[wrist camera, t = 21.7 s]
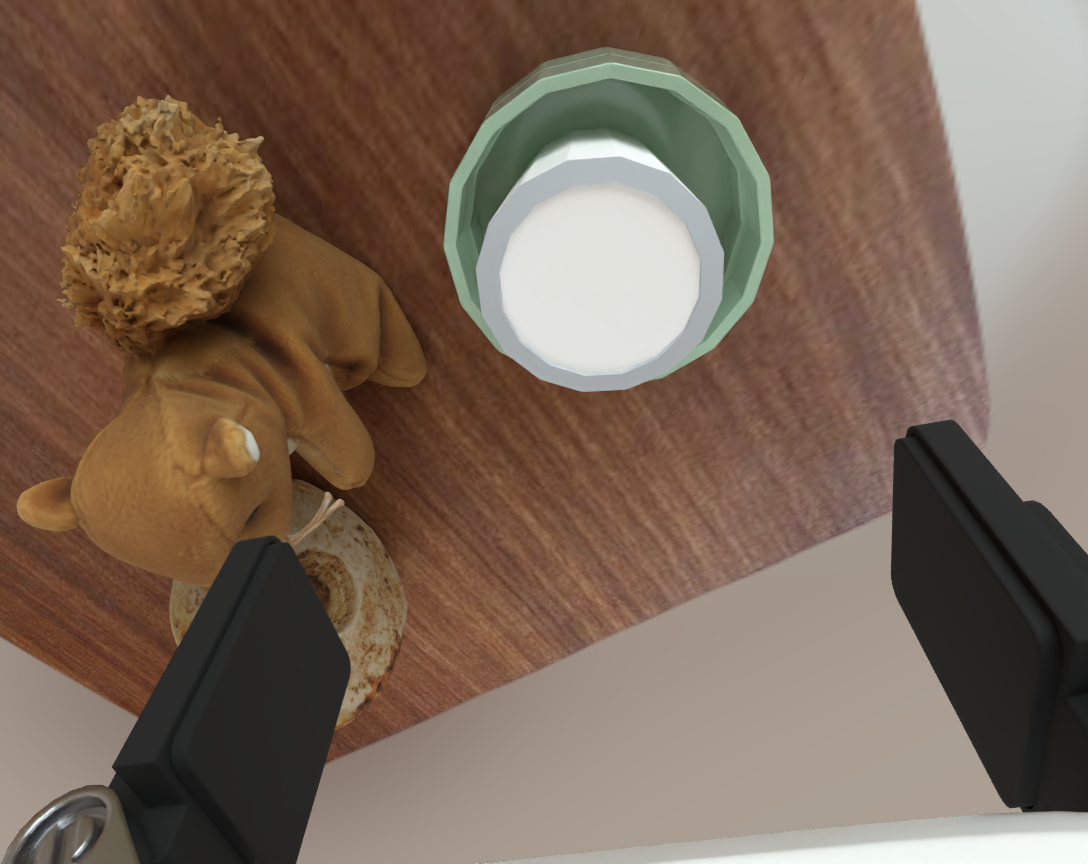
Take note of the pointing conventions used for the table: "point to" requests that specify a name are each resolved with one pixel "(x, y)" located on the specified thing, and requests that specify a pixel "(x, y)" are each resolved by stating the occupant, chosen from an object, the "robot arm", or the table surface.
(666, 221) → the white round jar
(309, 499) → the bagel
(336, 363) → the stuffed squirrel
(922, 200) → the table surface
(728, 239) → the green bowl
